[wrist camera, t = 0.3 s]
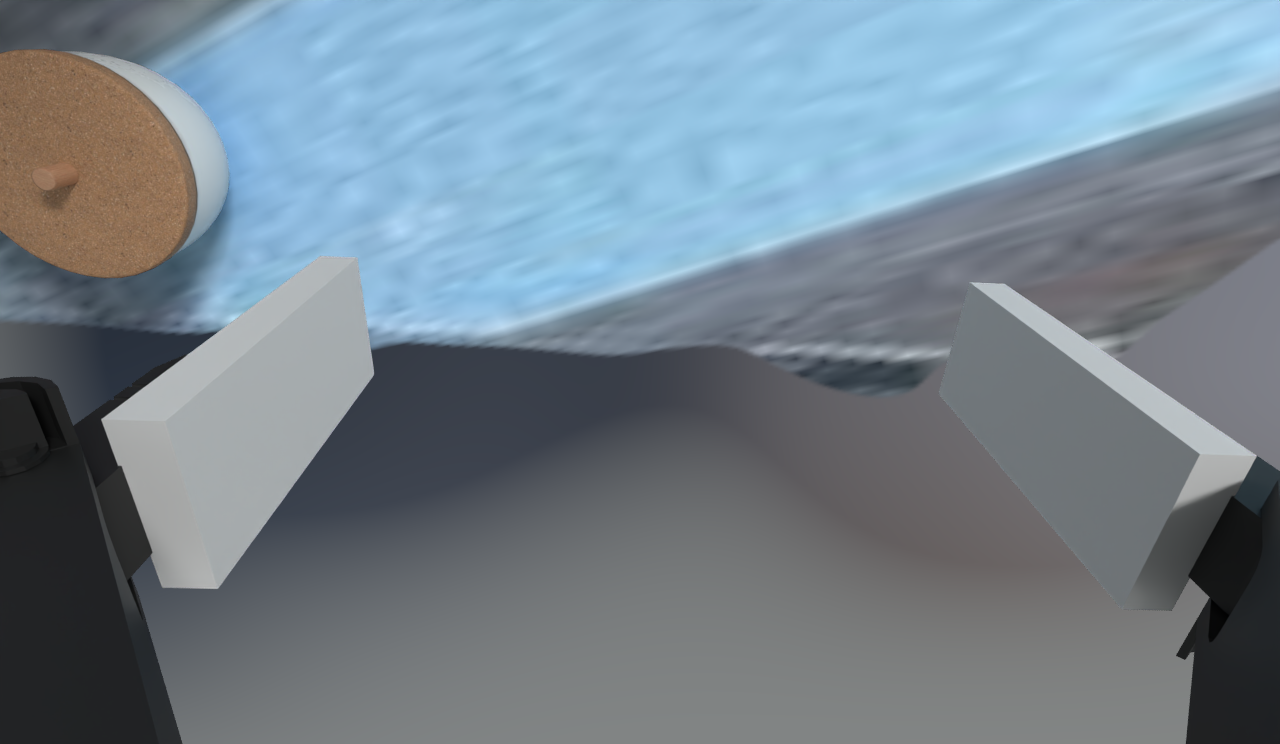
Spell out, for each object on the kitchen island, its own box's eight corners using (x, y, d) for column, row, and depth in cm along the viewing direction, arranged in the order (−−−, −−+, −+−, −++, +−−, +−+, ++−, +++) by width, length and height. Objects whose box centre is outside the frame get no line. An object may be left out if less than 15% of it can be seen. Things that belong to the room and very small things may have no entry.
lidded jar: (69, 12, 36) (-99, 7, 28) (274, 91, 38) (175, 108, 30) (66, 200, 41) (-80, 245, 32) (250, 262, 43) (158, 319, 34)
